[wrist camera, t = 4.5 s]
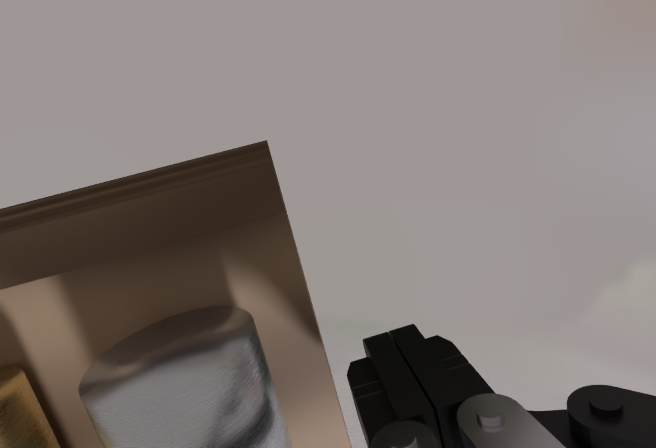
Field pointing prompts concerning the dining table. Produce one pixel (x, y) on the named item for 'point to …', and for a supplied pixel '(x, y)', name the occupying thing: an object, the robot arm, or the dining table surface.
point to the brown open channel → (161, 282)
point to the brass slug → (22, 413)
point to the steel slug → (187, 386)
